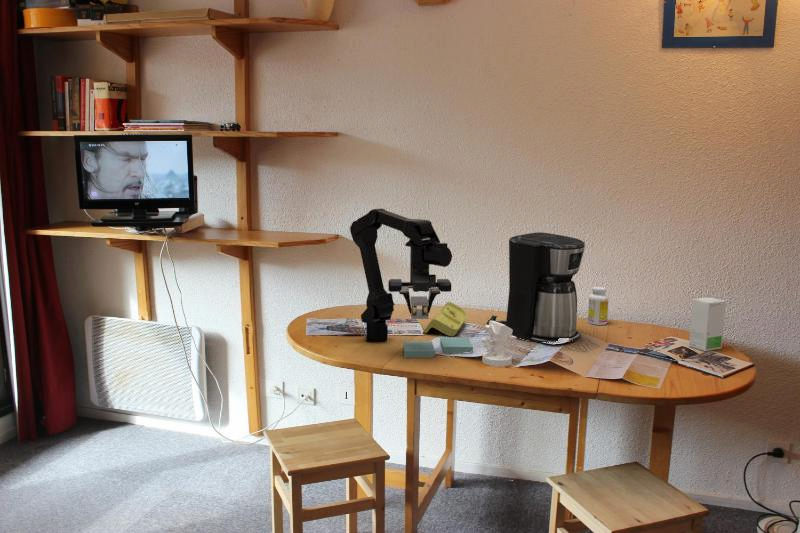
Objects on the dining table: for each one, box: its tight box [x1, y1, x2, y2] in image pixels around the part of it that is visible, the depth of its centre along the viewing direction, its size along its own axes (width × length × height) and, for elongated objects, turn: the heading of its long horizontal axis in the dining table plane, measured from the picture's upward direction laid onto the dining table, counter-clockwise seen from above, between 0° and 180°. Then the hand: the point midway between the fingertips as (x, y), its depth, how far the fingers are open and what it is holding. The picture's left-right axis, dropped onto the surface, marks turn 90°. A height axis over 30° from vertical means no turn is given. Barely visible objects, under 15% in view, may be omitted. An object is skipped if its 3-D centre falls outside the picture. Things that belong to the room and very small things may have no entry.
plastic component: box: [422, 301, 468, 337], centre depth 233 cm, size 20×7×10 cm
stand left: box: [402, 340, 436, 359], centre depth 207 cm, size 9×10×2 cm
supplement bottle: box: [587, 286, 609, 326], centre depth 240 cm, size 7×7×13 cm
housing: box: [410, 295, 430, 320], centre depth 204 cm, size 5×8×5 cm, turn 2°
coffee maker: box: [486, 231, 586, 343], centre depth 224 cm, size 23×32×34 cm
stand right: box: [439, 336, 474, 354], centre depth 211 cm, size 9×10×2 cm
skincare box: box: [688, 297, 727, 352], centre depth 213 cm, size 8×7×16 cm
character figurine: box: [481, 320, 517, 368], centre depth 198 cm, size 9×10×12 cm
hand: (419, 313), depth 205 cm, fingers closed on housing, 5 cm apart
